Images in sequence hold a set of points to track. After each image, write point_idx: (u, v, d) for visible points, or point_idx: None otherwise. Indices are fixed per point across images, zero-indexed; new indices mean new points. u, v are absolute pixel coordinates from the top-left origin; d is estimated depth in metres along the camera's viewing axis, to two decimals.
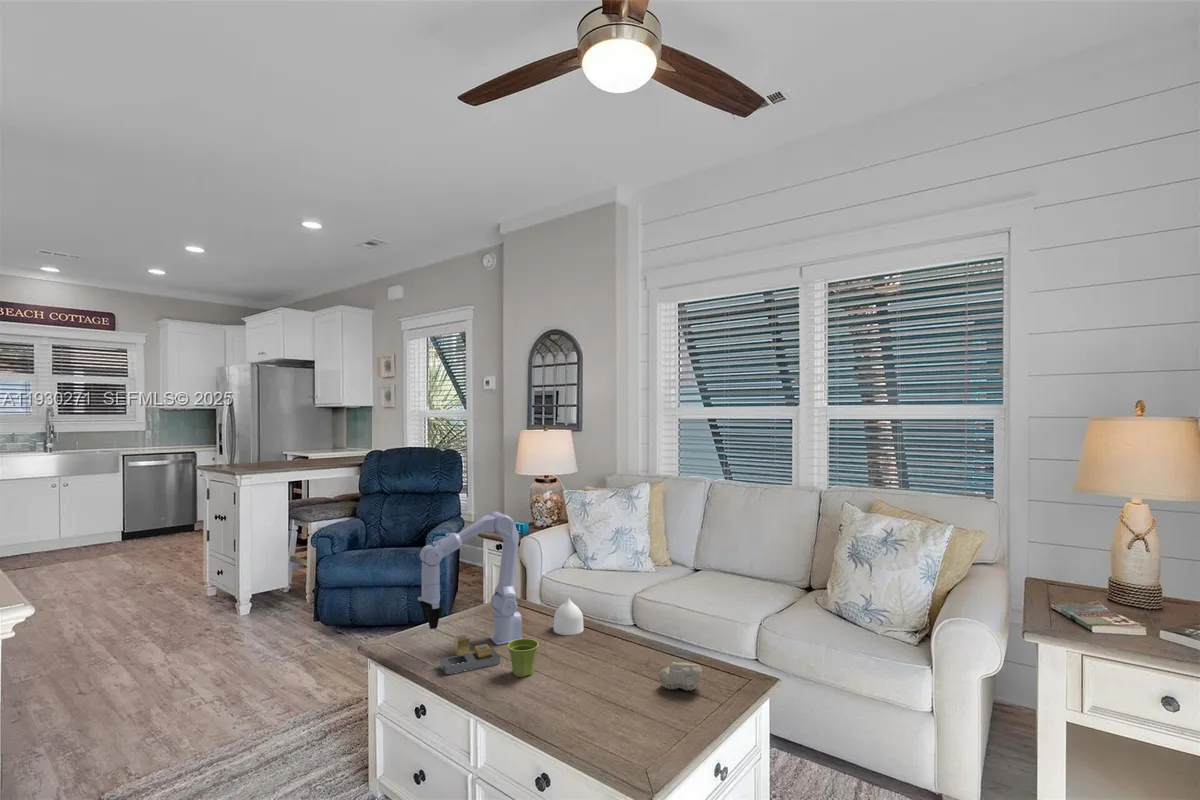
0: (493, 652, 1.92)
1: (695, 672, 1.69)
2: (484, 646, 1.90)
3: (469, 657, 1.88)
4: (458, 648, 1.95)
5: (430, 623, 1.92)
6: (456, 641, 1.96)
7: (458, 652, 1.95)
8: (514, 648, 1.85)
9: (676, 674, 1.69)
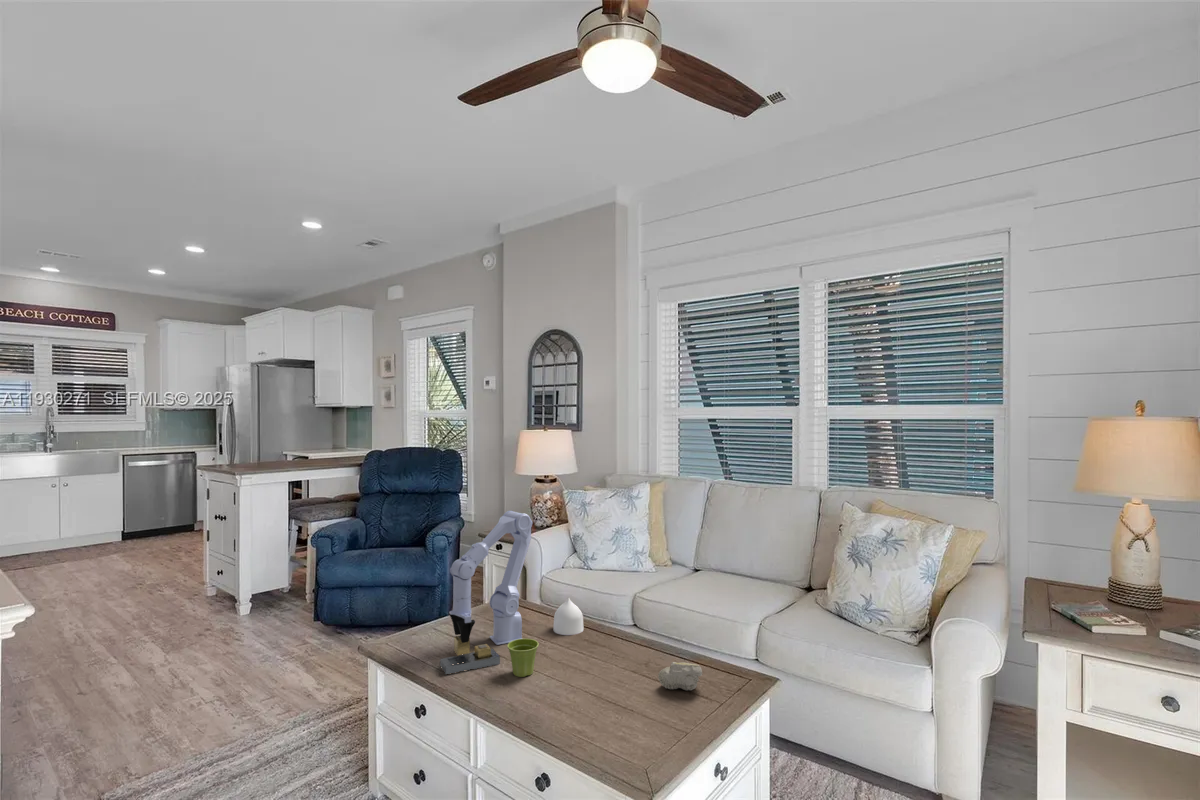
0: (493, 652, 1.92)
1: (695, 672, 1.69)
2: (484, 646, 1.90)
3: (469, 657, 1.88)
4: (458, 648, 1.95)
5: (462, 637, 1.94)
6: (456, 641, 1.96)
7: (458, 652, 1.95)
8: (514, 648, 1.85)
9: (676, 674, 1.69)
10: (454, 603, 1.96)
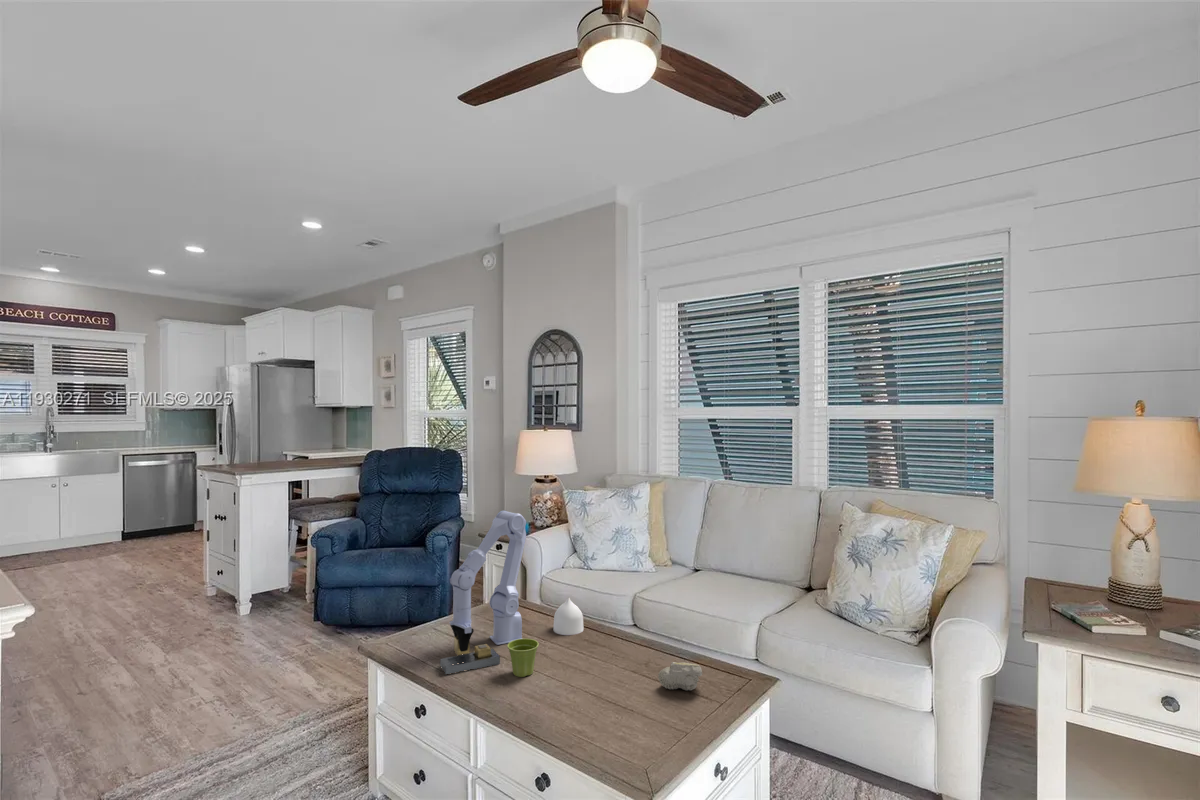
0: (493, 652, 1.92)
1: (695, 671, 1.69)
2: (484, 646, 1.90)
3: (469, 657, 1.88)
4: (458, 648, 1.95)
5: (461, 646, 1.95)
6: (456, 641, 1.96)
7: (458, 652, 1.95)
8: (514, 648, 1.85)
9: (676, 674, 1.69)
10: (454, 613, 1.96)
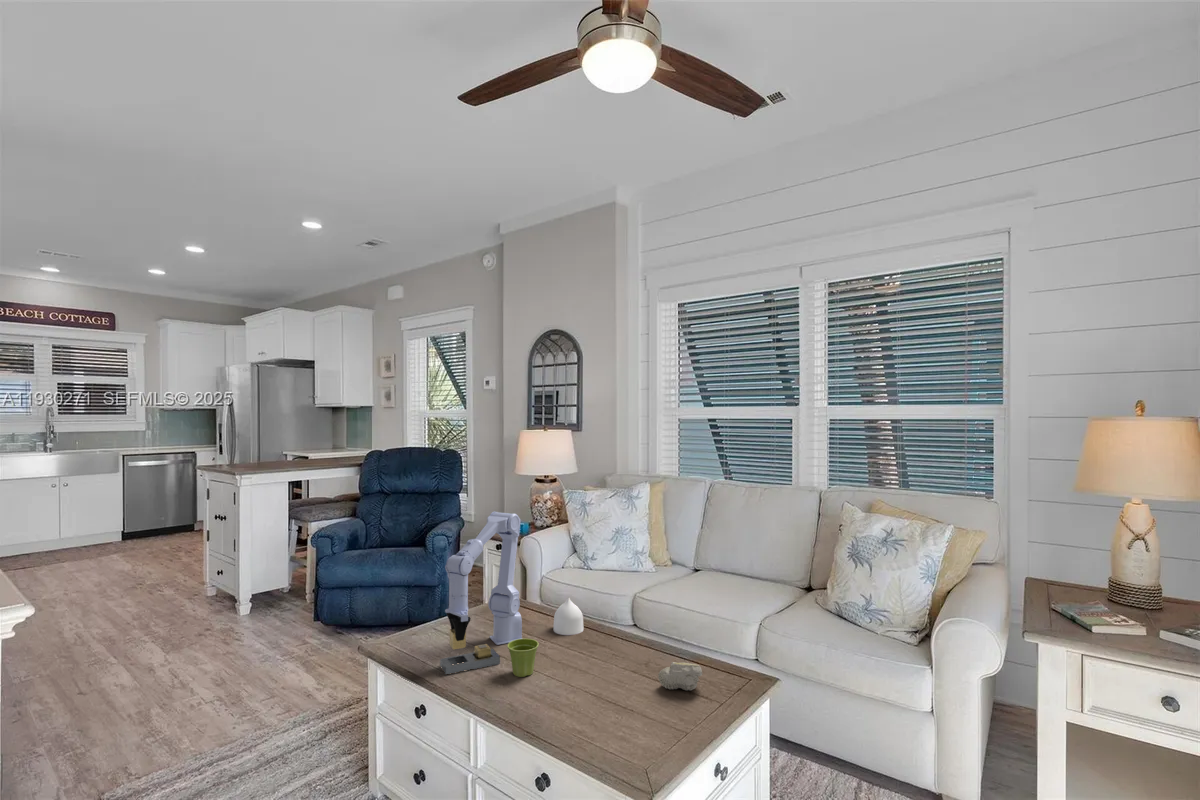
0: (493, 652, 1.92)
1: (695, 671, 1.69)
2: (484, 646, 1.90)
3: (469, 657, 1.88)
4: (454, 641, 1.86)
5: (457, 635, 1.85)
6: (451, 634, 1.87)
7: (454, 645, 1.86)
8: (514, 648, 1.85)
9: (676, 674, 1.69)
10: (450, 601, 1.87)
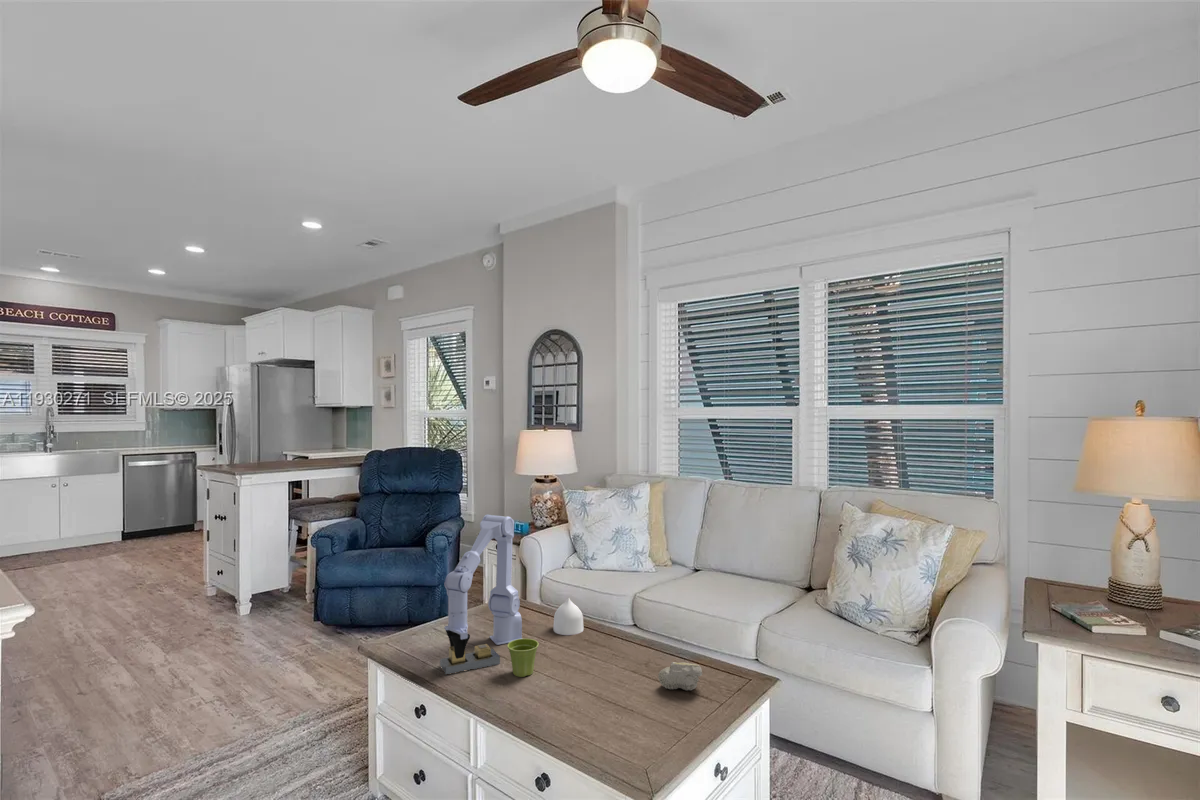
0: (493, 652, 1.92)
1: (695, 671, 1.69)
2: (484, 646, 1.90)
3: (469, 657, 1.88)
4: (453, 659, 1.83)
5: (456, 652, 1.83)
6: (451, 652, 1.84)
7: (453, 663, 1.83)
8: (514, 648, 1.85)
9: (676, 674, 1.69)
10: (449, 618, 1.84)
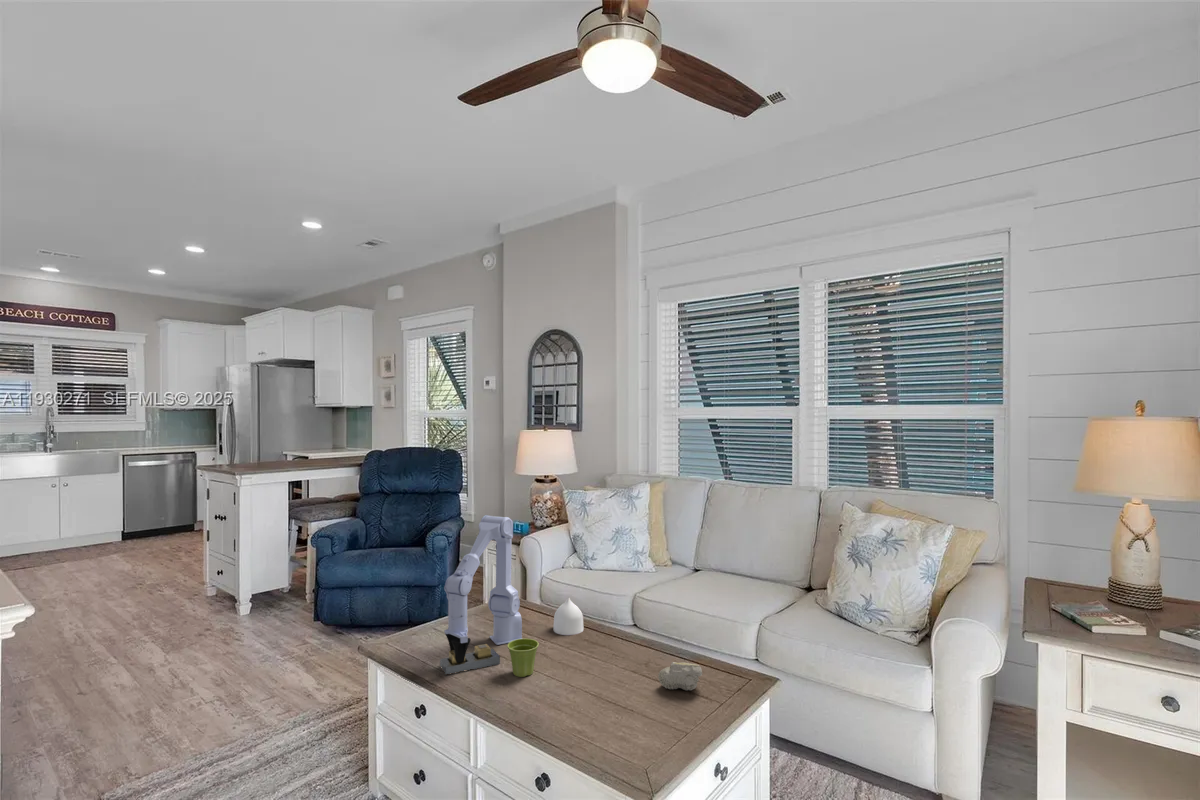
0: (493, 652, 1.92)
1: (695, 671, 1.69)
2: (484, 646, 1.90)
3: (469, 657, 1.88)
4: (453, 663, 1.83)
5: (457, 657, 1.83)
6: (451, 656, 1.84)
7: None
8: (514, 648, 1.85)
9: (676, 674, 1.69)
10: (449, 621, 1.84)
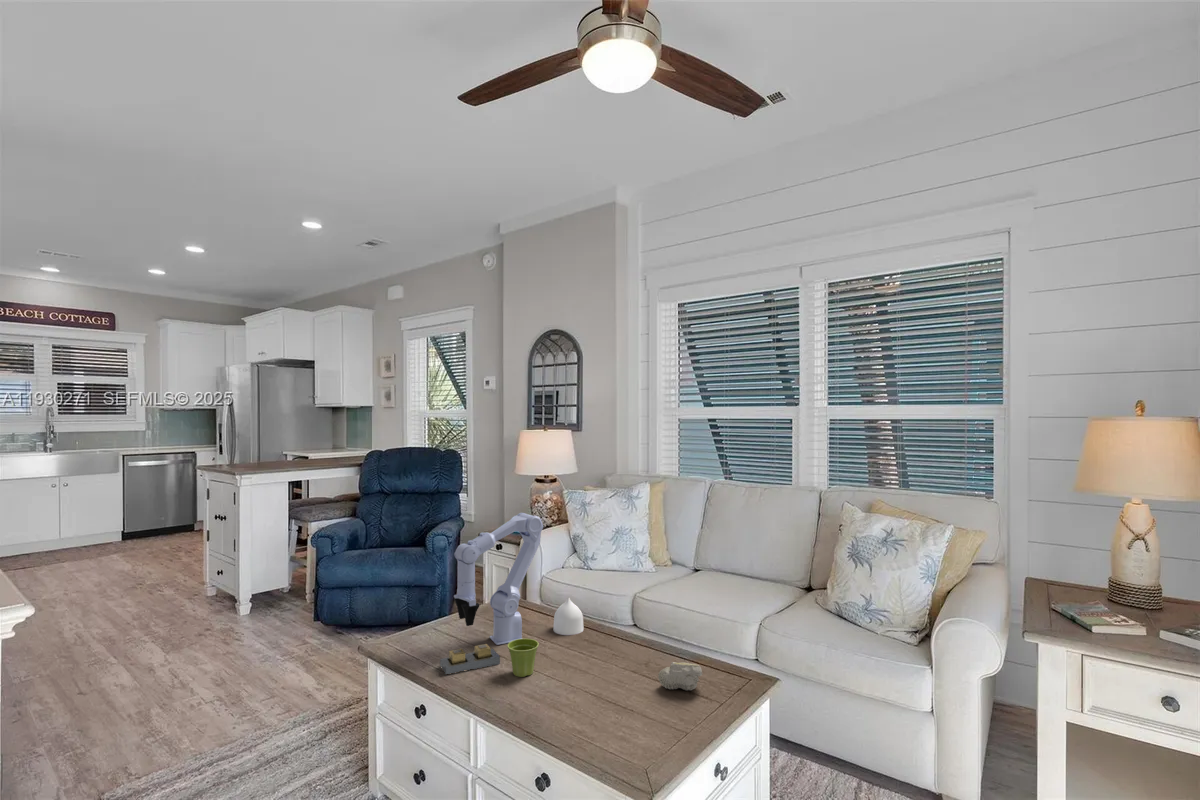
0: (493, 652, 1.92)
1: (695, 671, 1.69)
2: (484, 646, 1.90)
3: (469, 657, 1.88)
4: (453, 663, 1.83)
5: (467, 620, 1.96)
6: (451, 656, 1.84)
7: None
8: (514, 648, 1.85)
9: (676, 674, 1.69)
10: (458, 587, 1.98)
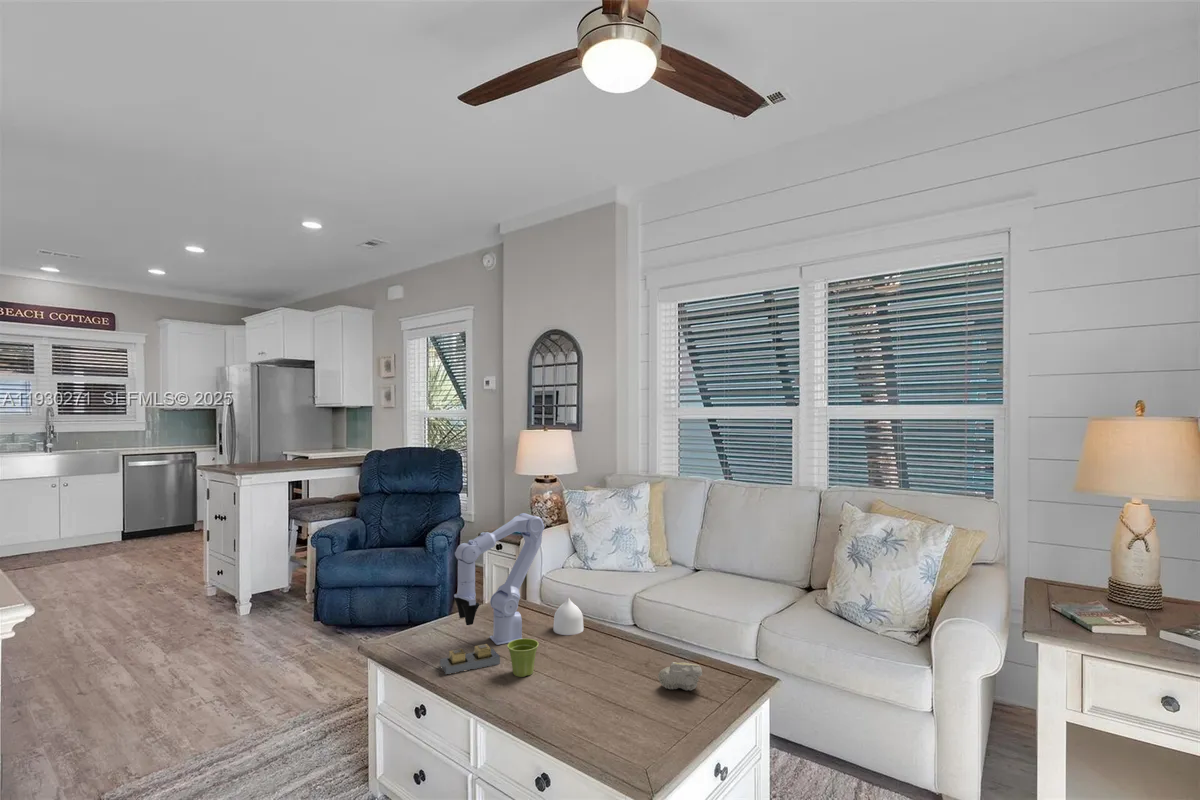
0: (493, 652, 1.92)
1: (695, 672, 1.69)
2: (484, 646, 1.90)
3: (469, 657, 1.88)
4: (453, 663, 1.83)
5: (466, 619, 1.96)
6: (451, 656, 1.84)
7: None
8: (514, 648, 1.85)
9: (676, 674, 1.69)
10: (458, 586, 1.99)
